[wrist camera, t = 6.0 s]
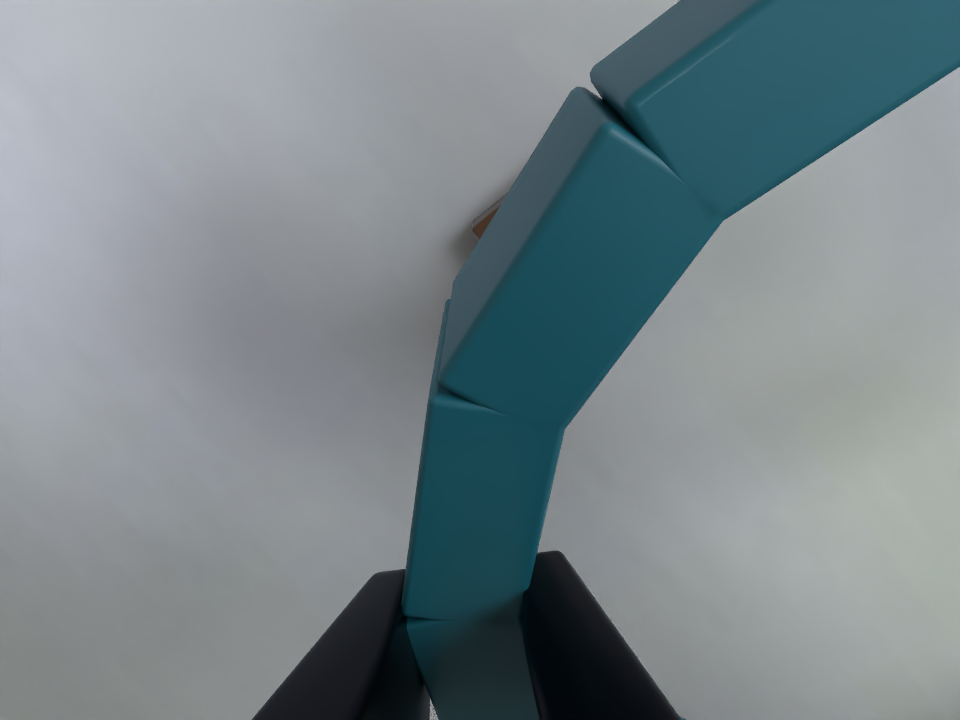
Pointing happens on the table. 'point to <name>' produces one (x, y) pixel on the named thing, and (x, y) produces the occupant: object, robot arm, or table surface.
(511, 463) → the ring
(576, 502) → the table surface
